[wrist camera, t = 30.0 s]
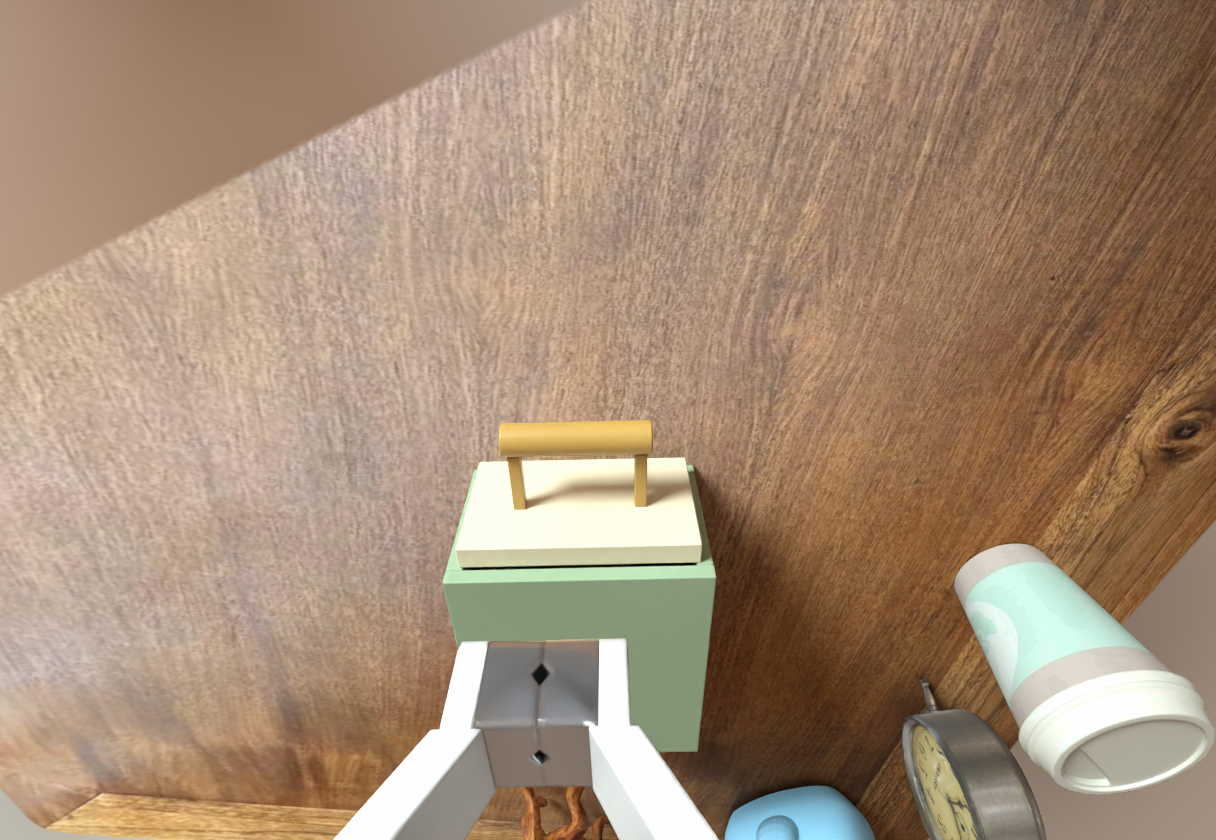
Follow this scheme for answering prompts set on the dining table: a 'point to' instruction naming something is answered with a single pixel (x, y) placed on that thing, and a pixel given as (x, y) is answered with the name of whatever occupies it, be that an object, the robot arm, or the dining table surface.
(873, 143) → the dining table surface
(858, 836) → the teapot
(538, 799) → the cat figurine
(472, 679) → the robot arm
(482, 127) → the dining table surface
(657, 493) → the drawer
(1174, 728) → the coffee cup
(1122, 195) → the dining table surface
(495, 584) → the cabinet
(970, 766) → the alarm clock
